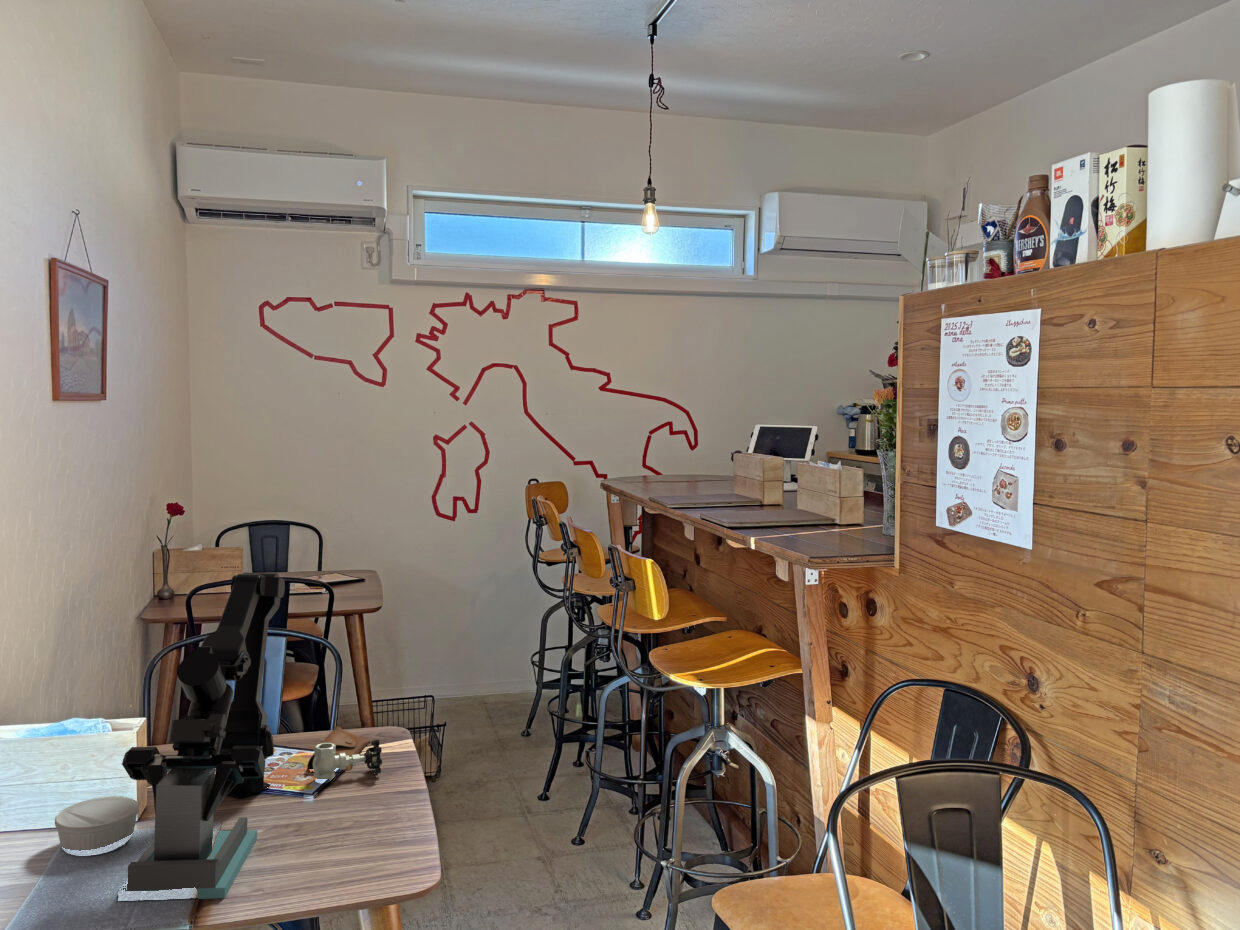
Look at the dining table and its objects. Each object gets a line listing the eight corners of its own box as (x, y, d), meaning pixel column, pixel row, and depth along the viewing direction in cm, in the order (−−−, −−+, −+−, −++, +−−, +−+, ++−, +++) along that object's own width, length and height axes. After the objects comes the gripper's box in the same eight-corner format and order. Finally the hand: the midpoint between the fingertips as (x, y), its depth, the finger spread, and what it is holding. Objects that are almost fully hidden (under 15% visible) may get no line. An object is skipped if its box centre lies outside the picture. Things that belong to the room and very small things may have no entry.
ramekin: (40, 862, 133) (41, 827, 132) (74, 829, 144) (74, 796, 144) (121, 860, 134) (122, 825, 134) (148, 827, 145) (149, 795, 145)
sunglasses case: (352, 772, 171) (335, 742, 170) (319, 791, 170) (302, 761, 170) (372, 740, 189) (356, 713, 188) (342, 756, 188) (326, 729, 188)
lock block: (169, 851, 131) (171, 768, 131) (212, 851, 132) (215, 768, 131) (153, 872, 125) (156, 785, 125) (198, 872, 126) (201, 785, 126)
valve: (314, 789, 163) (381, 779, 168) (315, 753, 163) (382, 745, 168) (309, 775, 169) (374, 767, 174) (310, 741, 169) (375, 734, 174)
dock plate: (163, 841, 140) (164, 810, 140) (257, 839, 143) (257, 808, 142) (116, 902, 123) (117, 866, 122) (224, 898, 125) (225, 862, 125)
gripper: (128, 693, 130) (94, 799, 120) (262, 692, 133) (241, 796, 123) (147, 728, 138) (117, 830, 128) (273, 727, 141) (254, 827, 131)
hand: (181, 820), depth 127 cm, fingers closed on lock block, 6 cm apart
